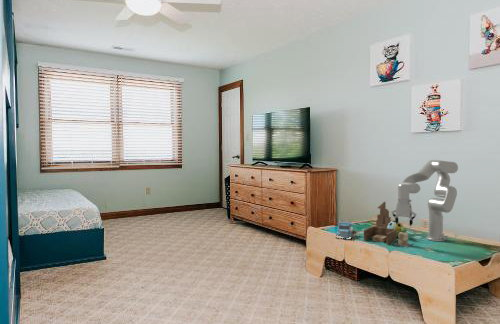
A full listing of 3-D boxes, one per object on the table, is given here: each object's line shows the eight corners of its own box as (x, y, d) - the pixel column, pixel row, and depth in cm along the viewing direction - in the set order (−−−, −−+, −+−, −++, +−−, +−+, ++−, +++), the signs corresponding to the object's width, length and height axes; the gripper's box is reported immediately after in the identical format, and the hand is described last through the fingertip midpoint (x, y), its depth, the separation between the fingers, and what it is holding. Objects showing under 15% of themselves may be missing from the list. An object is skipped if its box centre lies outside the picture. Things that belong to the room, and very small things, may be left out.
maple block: (407, 243, 262) (408, 233, 261) (405, 245, 258) (405, 234, 257) (400, 242, 265) (400, 232, 264) (398, 244, 261) (398, 233, 261)
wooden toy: (395, 232, 297) (395, 202, 295) (391, 233, 292) (391, 203, 291) (378, 228, 308) (378, 200, 307) (374, 230, 304) (374, 200, 303)
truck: (335, 239, 279) (335, 220, 278) (338, 230, 307) (338, 212, 306) (351, 240, 275) (351, 221, 275) (353, 231, 303) (353, 213, 302)
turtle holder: (398, 240, 272) (398, 225, 271) (383, 234, 289) (383, 220, 289) (412, 239, 275) (412, 224, 274) (396, 233, 292) (397, 219, 292)
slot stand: (396, 240, 274) (396, 229, 273) (387, 245, 261) (388, 234, 260) (373, 235, 286) (373, 226, 285) (363, 240, 273) (363, 230, 273)
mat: (412, 244, 262) (412, 243, 262) (407, 247, 254) (407, 246, 254) (398, 241, 269) (398, 241, 269) (393, 244, 261) (393, 244, 261)
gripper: (417, 201, 257) (418, 224, 258) (393, 199, 268) (393, 221, 269) (414, 202, 251) (414, 226, 252) (389, 200, 263) (389, 223, 264)
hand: (403, 224), depth 261 cm, fingers open, 9 cm apart
